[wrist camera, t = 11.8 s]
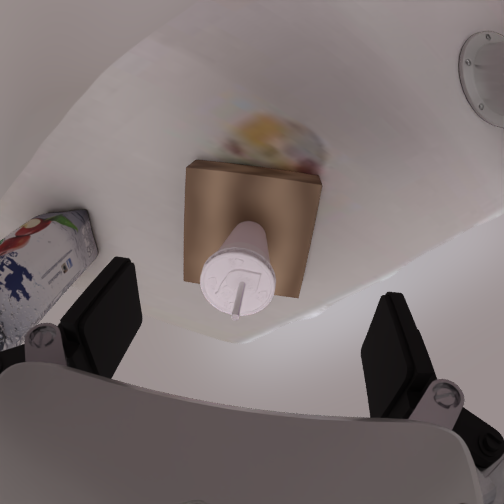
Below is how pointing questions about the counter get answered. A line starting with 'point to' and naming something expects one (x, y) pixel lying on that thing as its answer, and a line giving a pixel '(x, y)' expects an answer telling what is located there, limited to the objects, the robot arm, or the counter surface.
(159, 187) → the counter surface
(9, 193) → the counter surface
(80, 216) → the juice carton
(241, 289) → the smoothie
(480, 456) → the robot arm
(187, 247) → the plinth
